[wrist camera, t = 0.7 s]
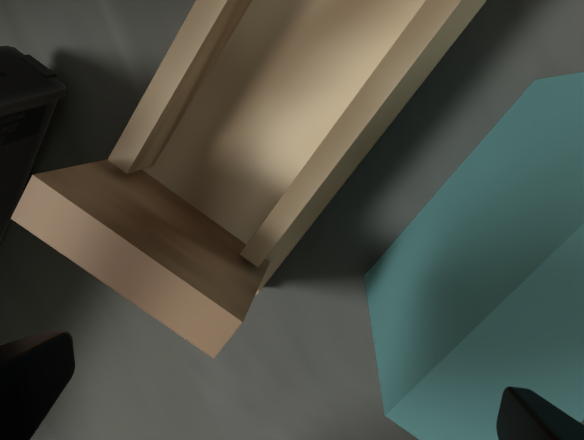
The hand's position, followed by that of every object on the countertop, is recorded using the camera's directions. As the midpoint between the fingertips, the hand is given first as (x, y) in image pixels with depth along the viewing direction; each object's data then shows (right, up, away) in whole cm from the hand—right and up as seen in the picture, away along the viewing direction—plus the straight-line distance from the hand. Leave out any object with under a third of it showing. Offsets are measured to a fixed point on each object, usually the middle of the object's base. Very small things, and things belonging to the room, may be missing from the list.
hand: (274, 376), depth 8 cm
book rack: (0, +10, +10) cm, 14 cm away
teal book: (+9, +4, +11) cm, 15 cm away
